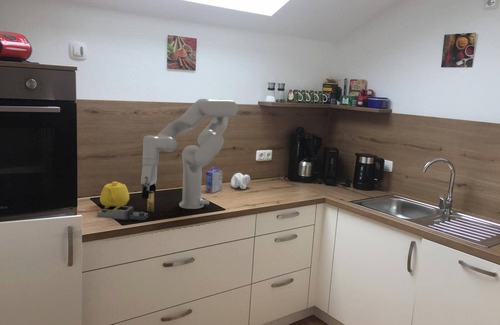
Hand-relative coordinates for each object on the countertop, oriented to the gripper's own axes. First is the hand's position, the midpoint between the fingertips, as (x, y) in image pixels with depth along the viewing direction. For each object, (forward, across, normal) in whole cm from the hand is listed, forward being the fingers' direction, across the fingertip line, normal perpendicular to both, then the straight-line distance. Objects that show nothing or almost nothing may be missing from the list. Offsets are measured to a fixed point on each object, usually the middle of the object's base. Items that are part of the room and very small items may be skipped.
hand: (148, 196), depth 202 cm
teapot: (+8, -3, -18) cm, 20 cm away
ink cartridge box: (+6, -49, +23) cm, 54 cm away
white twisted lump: (+5, -61, +38) cm, 72 cm away
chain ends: (+8, +11, -8) cm, 16 cm away
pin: (+8, -1, +1) cm, 8 cm away
